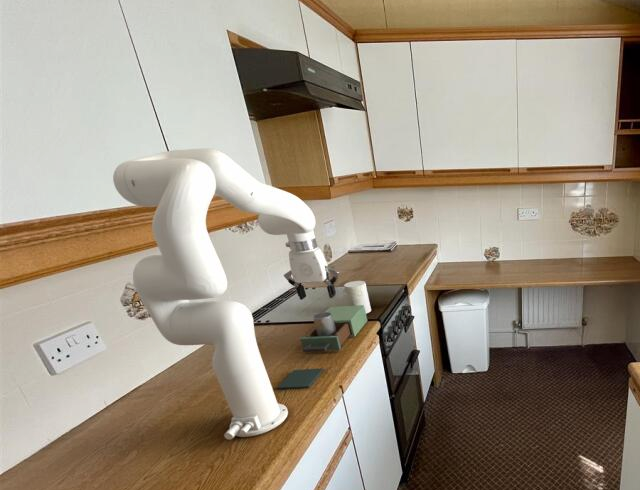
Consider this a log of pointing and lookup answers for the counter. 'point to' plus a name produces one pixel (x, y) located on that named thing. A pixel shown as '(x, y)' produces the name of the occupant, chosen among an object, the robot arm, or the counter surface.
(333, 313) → the cabinet
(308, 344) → the drawer
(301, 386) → the mat
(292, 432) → the counter surface
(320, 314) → the metallic grey cylinder
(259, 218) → the robot arm
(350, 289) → the cup
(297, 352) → the counter surface
